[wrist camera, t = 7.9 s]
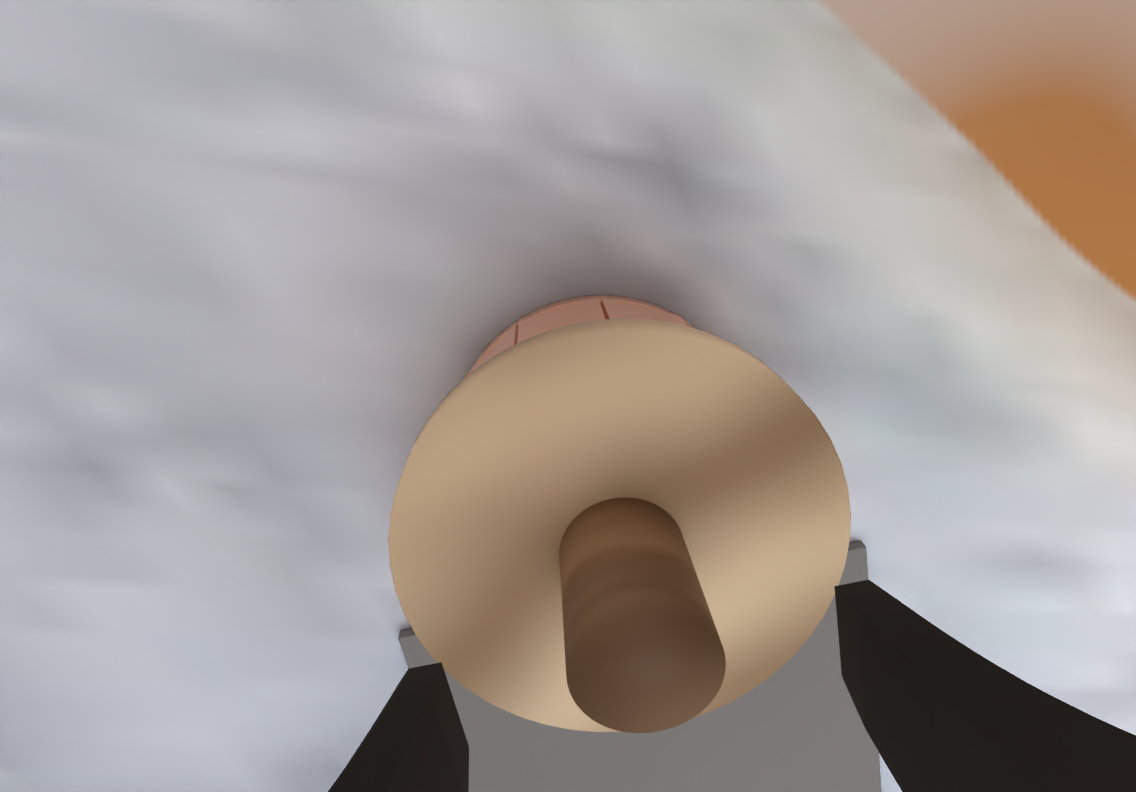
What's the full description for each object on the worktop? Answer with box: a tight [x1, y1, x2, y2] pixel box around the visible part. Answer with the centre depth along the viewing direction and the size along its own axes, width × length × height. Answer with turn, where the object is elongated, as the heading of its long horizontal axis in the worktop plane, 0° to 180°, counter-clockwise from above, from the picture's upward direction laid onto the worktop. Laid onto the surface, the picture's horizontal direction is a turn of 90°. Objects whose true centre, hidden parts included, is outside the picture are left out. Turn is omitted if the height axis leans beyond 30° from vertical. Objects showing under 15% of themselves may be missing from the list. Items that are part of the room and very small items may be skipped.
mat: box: [398, 541, 881, 792], centre depth 27 cm, size 13×16×1 cm
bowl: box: [462, 295, 696, 380], centre depth 20 cm, size 9×9×5 cm
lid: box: [388, 318, 851, 733], centre depth 16 cm, size 11×11×5 cm
